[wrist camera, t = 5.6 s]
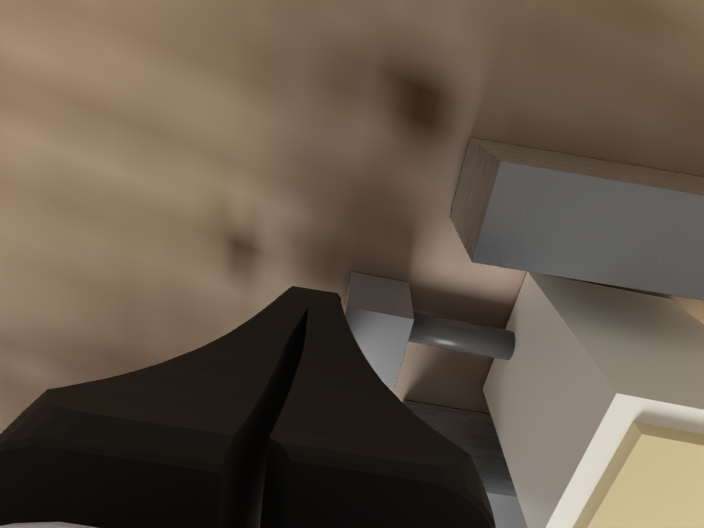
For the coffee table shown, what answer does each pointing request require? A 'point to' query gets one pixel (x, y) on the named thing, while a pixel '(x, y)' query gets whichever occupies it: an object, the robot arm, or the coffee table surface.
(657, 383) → the wall lamp
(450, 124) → the coffee table surface
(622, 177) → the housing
